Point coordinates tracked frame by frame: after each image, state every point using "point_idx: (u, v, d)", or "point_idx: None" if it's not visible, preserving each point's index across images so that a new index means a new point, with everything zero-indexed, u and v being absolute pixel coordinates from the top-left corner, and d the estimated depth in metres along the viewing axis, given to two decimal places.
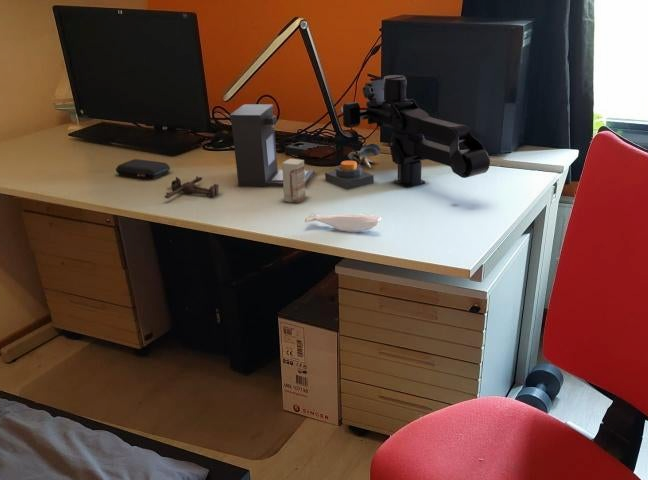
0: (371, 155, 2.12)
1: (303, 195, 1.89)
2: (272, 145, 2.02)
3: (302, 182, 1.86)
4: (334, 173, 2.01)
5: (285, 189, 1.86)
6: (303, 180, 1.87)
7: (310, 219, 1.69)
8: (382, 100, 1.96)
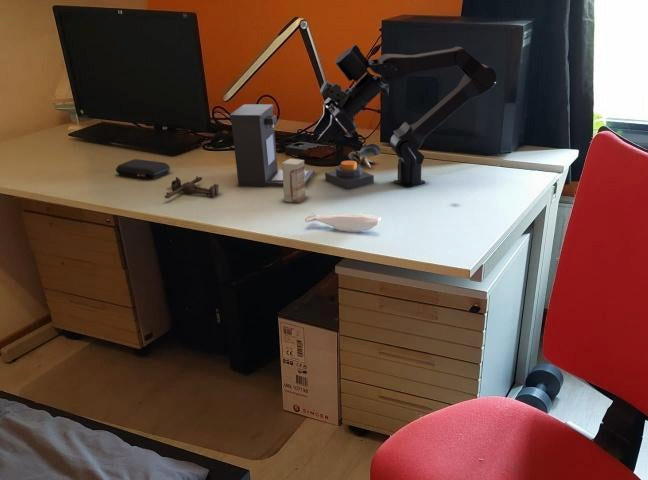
0: (371, 155, 2.12)
1: (303, 195, 1.89)
2: (272, 145, 2.02)
3: (302, 182, 1.86)
4: (334, 173, 2.01)
5: (285, 189, 1.86)
6: (303, 180, 1.87)
7: (310, 219, 1.69)
8: (344, 91, 1.83)
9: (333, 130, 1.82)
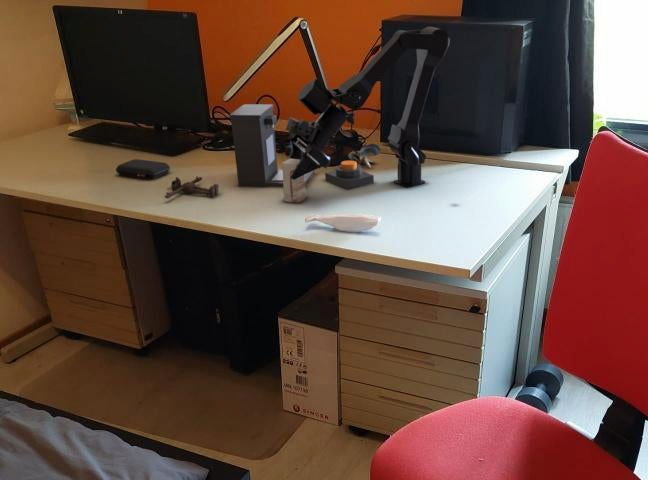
0: (371, 155, 2.12)
1: (303, 195, 1.89)
2: (272, 145, 2.02)
3: (302, 182, 1.86)
4: (334, 173, 2.01)
5: (285, 189, 1.86)
6: (303, 180, 1.87)
7: (310, 219, 1.69)
8: (310, 125, 1.81)
9: (305, 164, 1.81)
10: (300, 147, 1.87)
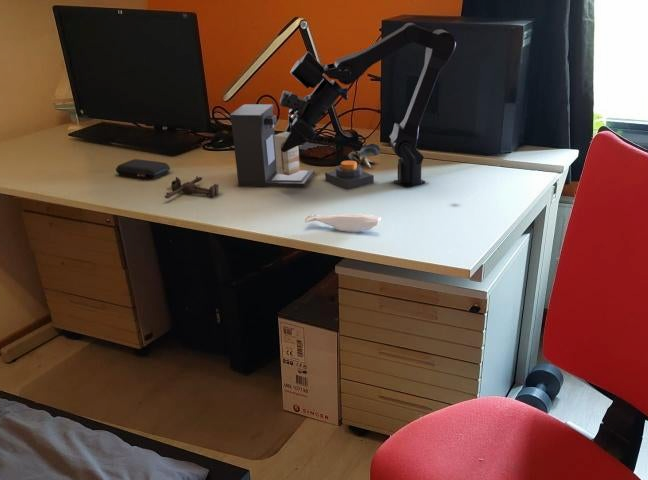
0: (371, 155, 2.12)
1: (296, 168, 1.91)
2: (272, 145, 2.02)
3: (294, 155, 1.89)
4: (334, 173, 2.01)
5: (277, 161, 1.90)
6: (295, 153, 1.90)
7: (310, 219, 1.69)
8: (303, 99, 1.83)
9: (294, 138, 1.84)
10: None
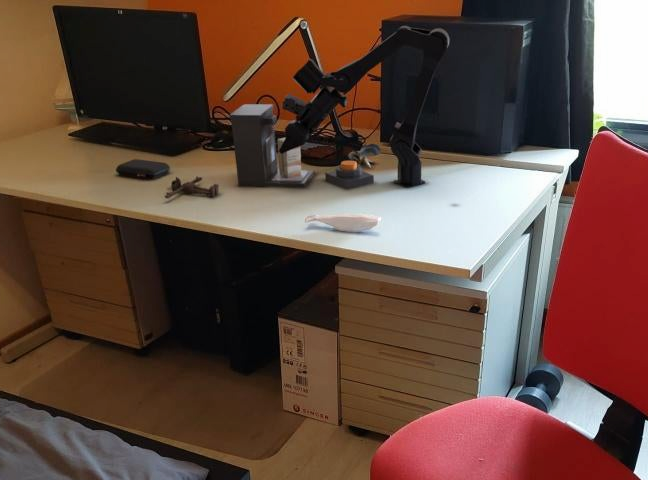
0: (371, 155, 2.12)
1: (297, 172, 2.01)
2: (272, 145, 2.02)
3: (295, 159, 1.99)
4: (334, 173, 2.01)
5: (279, 164, 2.01)
6: (296, 158, 1.99)
7: (310, 219, 1.69)
8: (305, 104, 1.92)
9: (290, 141, 1.92)
10: None
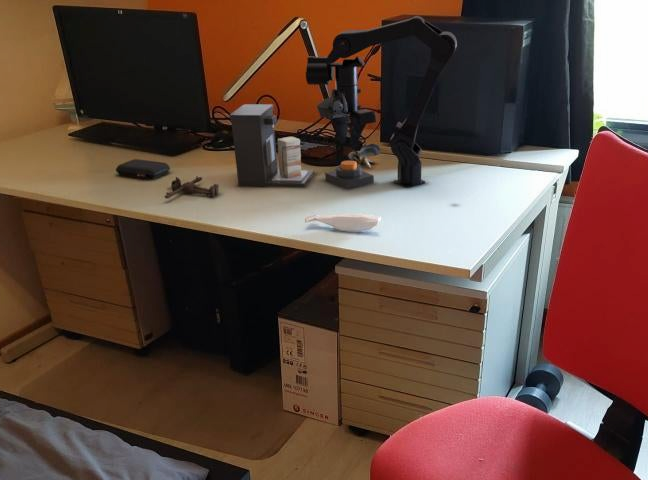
0: (371, 155, 2.12)
1: (297, 172, 2.01)
2: (272, 145, 2.02)
3: (295, 159, 1.99)
4: (334, 173, 2.01)
5: (279, 164, 2.01)
6: (296, 158, 1.99)
7: (310, 219, 1.69)
8: (335, 97, 1.87)
9: (356, 129, 1.91)
10: (337, 115, 1.95)
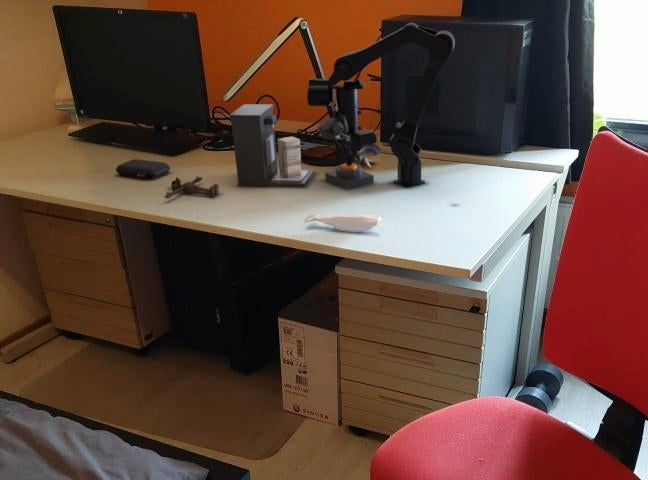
0: (371, 155, 2.12)
1: (297, 172, 2.01)
2: (272, 145, 2.02)
3: (295, 159, 1.99)
4: (334, 173, 2.01)
5: (279, 164, 2.01)
6: (296, 158, 1.99)
7: (310, 219, 1.69)
8: (336, 118, 1.90)
9: (351, 148, 1.95)
10: None
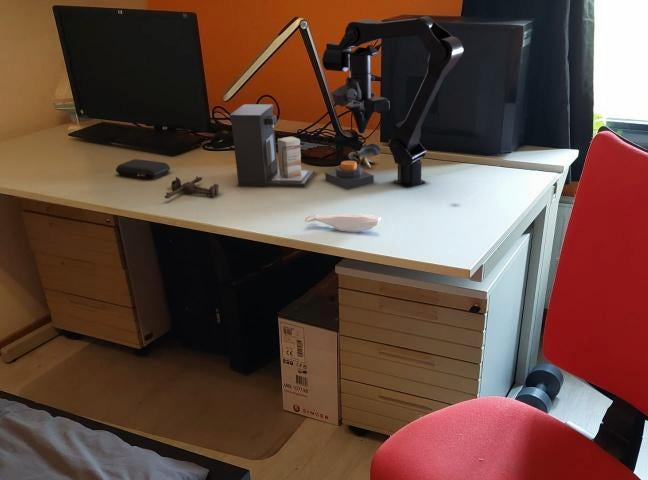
0: (371, 155, 2.12)
1: (297, 172, 2.01)
2: (272, 145, 2.02)
3: (295, 159, 1.99)
4: (334, 173, 2.01)
5: (279, 164, 2.01)
6: (296, 158, 1.99)
7: (310, 219, 1.69)
8: (349, 84, 1.90)
9: (364, 115, 1.96)
10: None
